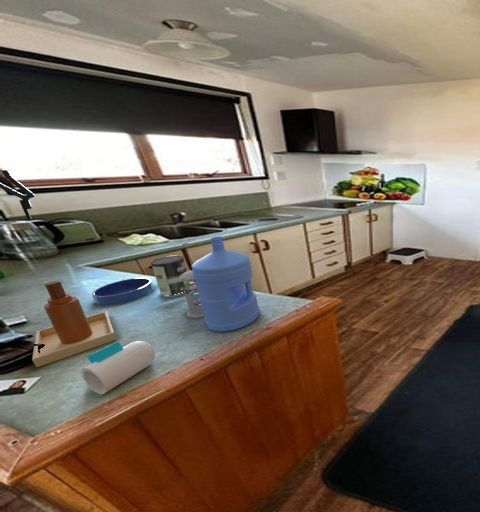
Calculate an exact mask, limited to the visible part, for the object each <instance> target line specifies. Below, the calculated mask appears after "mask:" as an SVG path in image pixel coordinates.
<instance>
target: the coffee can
mask: <svg viewBox="0 0 480 512" xmlns="http://www.w3.org/2000/svg"><path fill="white" fill-rule="evenodd" d="M150 265H151V268H152V271H153V275H154V278H155V281H156V284H157V287H158V290H159V293H160V296H161V297H164V298H171V297H178V296H180V295H185V293H184V291H186V290H185V289H184V288H185V287H186V286H187V285H189V284H191V280H189V281H184V280H181V279H180V276H181V275H182V274H184V273H185V272H187V271H188V269H187V266H186V263H185V257H184V256H183V255H168V256H163V257H159V258H155V259H154V260H152V261H150ZM181 292H183V293H181ZM178 293H180V294H178ZM174 294H176V295H174ZM164 295H169V296H164Z"/></svg>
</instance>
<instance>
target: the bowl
mask: <svg viewBox="0 0 480 512" xmlns="http://www.w3.org/2000/svg"><path fill="white" fill-rule="evenodd" d="M154 289H155V287H154V284H153V281H152V279H151V278H148V277H134V278H128V279H122V280H117V281H114V282H111V283H108V284H105V285H102V286H100V287H98V288H96V289H95V290H93V291H92V293H91V296H92V298H93V301H94V303H95V305H98V306H113V305H120V304H125V303H128V302H132V301H136V300H138V299H140V298H143V297H146V296H147V295H149V294H151V293H152V292H153V291H154Z"/></svg>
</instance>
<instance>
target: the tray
mask: <svg viewBox="0 0 480 512" xmlns="http://www.w3.org/2000/svg"><path fill="white" fill-rule="evenodd" d="M86 319H87V321H88V323H89V326H90V328H91V330H92V335H91V336H89V337H88V338H86V339H84V340H81V341H79V342H76V343H72V344H62V343H61V341H60V339H59V337H58V335H57V333H56V331H55V329H54V327H53V326H50V327H47V328H43V329H39V330H36V331H35V338H34V344H38V343H43V344H45V346H44V347H43V348H41V349H40V353H39V352H38V346H34V345H33V350H32V351H33V352H32V357H31V360H32V362H33V364H34V366H35V368H38V367H39V368H40V367H43V366H45V365H48V364H51V363H54V362H57V361H59V360H62V359H65V358H69V357H71V356H74V355H77V354H79V353H82V352H86V351H89V350H91V349H93V348H97V347H100V346H102V345H105V344H108V343H111V342H114V341H117V339H118V338H117V337H116V334H115V329H114V327H113V325H112V321H111V318H110V316H109V313H108V311H107V310H106V311H101V312H98V313H95V314H91V315H88V316H86Z"/></svg>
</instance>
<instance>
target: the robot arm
mask: <svg viewBox="0 0 480 512" xmlns="http://www.w3.org/2000/svg"><path fill="white" fill-rule="evenodd" d="M0 177H1V178H6V180H7V181H9V182H10V183H12V184H13V185H14V186H15V187H17V188H18V189H19V190H21V191H22V192H23V193H24V194H23V193H21V192H19V191H17V190H15V189H14V188H11V187H9V186H7V185H6V184H3V183H2V182H0V189H1V190H3V191H4V192H8V193H10V194H11V195H13V196H15V197H17V198H19V203H20V206H21V208H22V211H23V213H24V215H25V217H26V219H27V220H32V216H31V213H30V212H29V210H32V209H33V208H32V204H31V202H30V199H32V198H35V196H36V195H35V193H33V192H32V191H31V190H30V189H28V188H27V187H26V186H25V185H23V184H22V183H21V182H19V181H18V180H17V178H15V177H13V176H12V174H11V172H10V171H9V170H8V169H3V170H0Z"/></svg>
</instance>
